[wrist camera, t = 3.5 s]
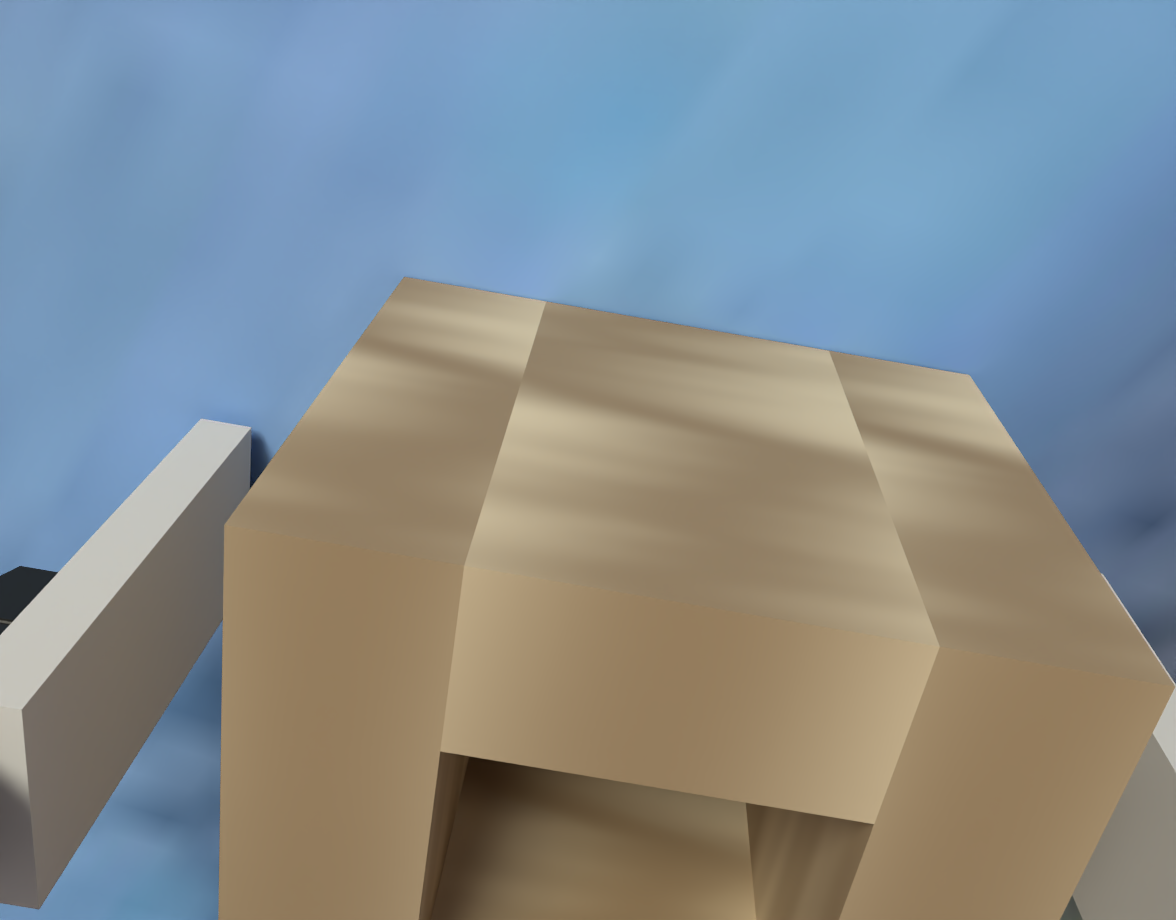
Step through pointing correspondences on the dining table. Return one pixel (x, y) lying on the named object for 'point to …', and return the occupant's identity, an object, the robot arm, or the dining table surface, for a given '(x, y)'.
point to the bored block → (659, 637)
